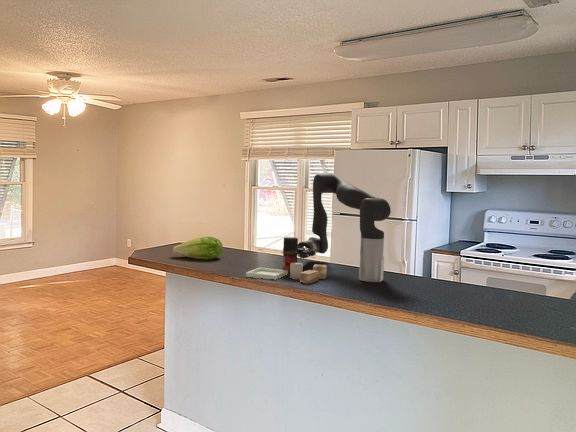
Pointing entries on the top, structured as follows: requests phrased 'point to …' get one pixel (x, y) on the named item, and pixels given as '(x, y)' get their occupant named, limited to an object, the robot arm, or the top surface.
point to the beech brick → (309, 276)
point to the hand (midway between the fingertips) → (294, 253)
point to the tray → (267, 273)
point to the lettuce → (200, 248)
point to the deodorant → (289, 252)
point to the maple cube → (321, 270)
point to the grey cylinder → (296, 270)
